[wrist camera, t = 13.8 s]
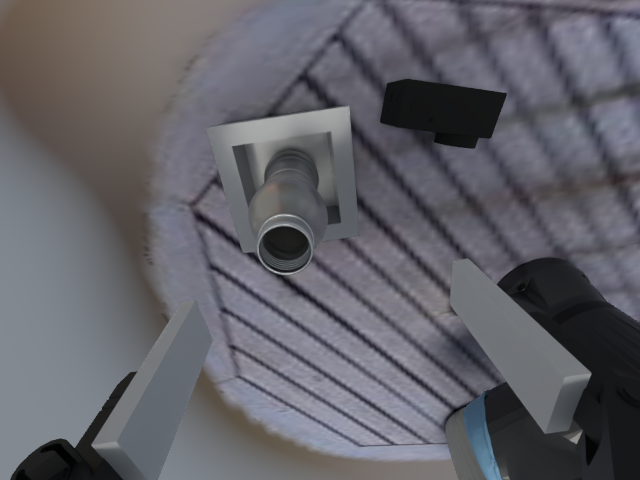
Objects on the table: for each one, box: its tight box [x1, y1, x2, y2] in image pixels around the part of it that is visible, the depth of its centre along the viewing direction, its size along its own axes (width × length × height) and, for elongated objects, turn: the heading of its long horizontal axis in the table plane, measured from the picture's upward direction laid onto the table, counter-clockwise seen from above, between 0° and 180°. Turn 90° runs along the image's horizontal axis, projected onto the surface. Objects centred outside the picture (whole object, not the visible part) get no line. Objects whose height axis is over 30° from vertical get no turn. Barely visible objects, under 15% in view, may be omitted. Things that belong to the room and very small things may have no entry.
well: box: [206, 105, 360, 253], centre depth 33 cm, size 14×14×7 cm
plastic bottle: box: [248, 150, 328, 275], centre depth 26 cm, size 6×7×20 cm
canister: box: [445, 407, 487, 480], centre depth 54 cm, size 18×18×21 cm
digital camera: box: [380, 79, 507, 148], centre depth 31 cm, size 10×5×7 cm, turn 83°
